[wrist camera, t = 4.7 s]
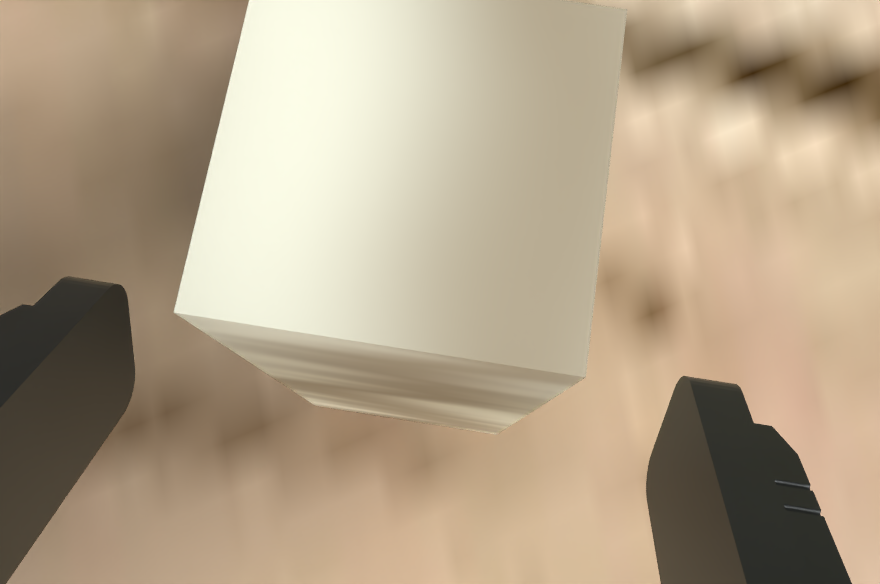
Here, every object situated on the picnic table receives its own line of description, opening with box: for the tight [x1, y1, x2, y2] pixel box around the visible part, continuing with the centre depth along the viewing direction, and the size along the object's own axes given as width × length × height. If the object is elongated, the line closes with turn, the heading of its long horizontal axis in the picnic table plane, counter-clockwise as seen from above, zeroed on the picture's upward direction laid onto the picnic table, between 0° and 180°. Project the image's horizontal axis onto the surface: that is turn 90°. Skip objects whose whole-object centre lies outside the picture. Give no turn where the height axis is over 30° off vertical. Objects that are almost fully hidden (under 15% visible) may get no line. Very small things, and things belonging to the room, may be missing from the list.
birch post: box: [174, 0, 627, 435], centre depth 14 cm, size 4×4×11 cm
